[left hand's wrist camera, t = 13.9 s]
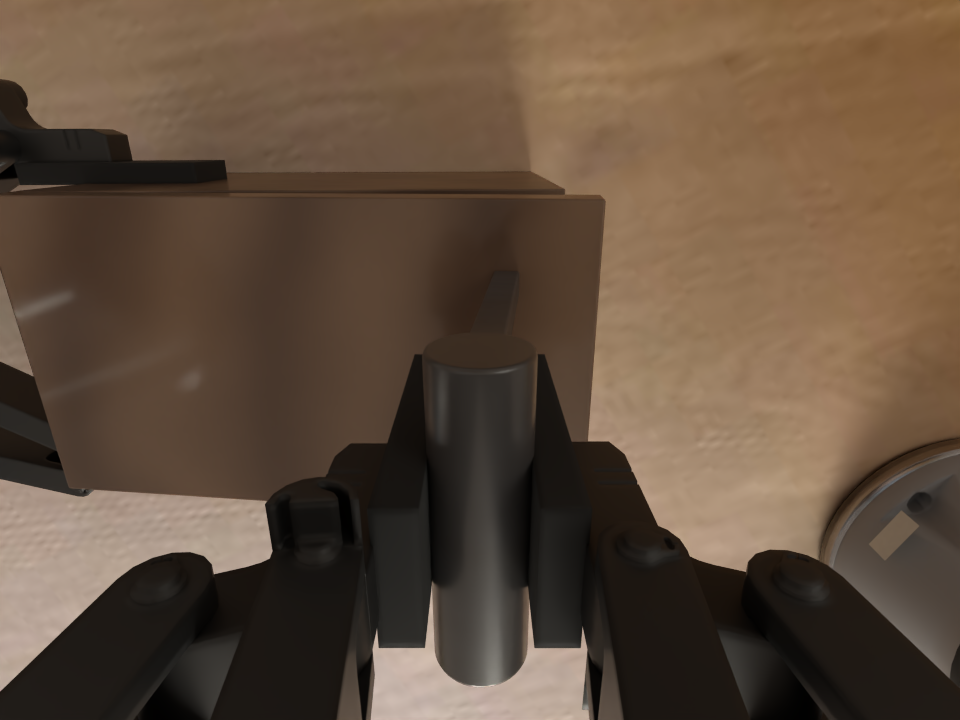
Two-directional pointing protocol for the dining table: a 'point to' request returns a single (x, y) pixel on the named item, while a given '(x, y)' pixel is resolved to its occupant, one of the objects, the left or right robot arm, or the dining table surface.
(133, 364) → the lid
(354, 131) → the dining table surface
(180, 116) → the dining table surface
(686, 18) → the dining table surface
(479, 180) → the chest
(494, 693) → the dining table surface
